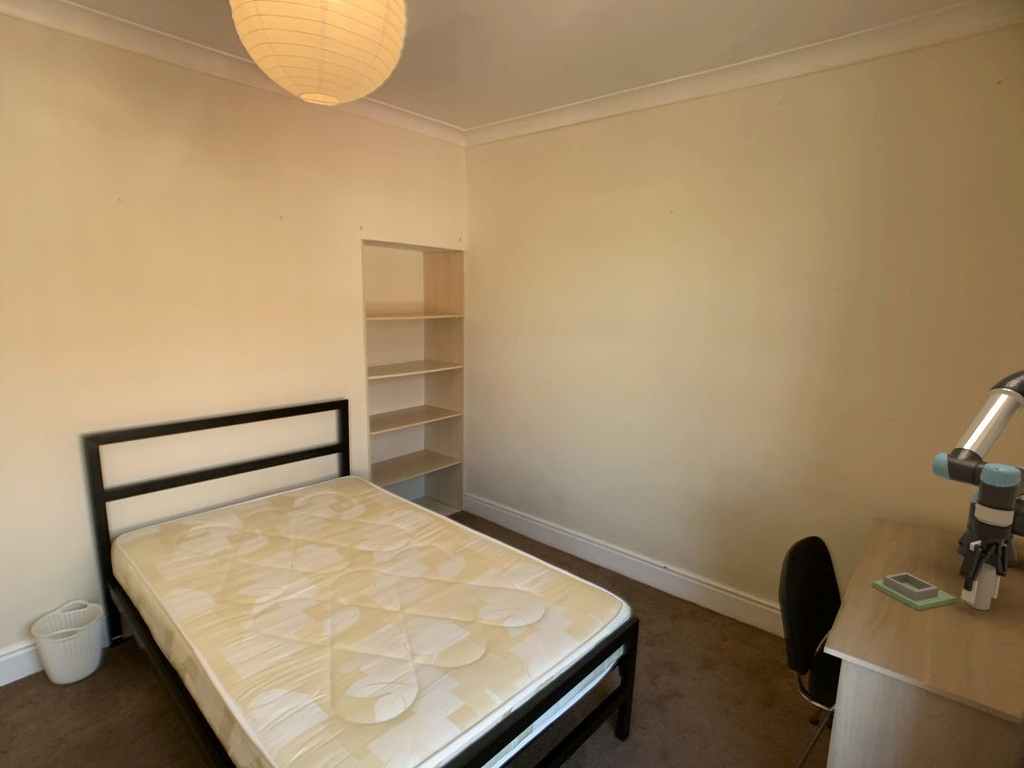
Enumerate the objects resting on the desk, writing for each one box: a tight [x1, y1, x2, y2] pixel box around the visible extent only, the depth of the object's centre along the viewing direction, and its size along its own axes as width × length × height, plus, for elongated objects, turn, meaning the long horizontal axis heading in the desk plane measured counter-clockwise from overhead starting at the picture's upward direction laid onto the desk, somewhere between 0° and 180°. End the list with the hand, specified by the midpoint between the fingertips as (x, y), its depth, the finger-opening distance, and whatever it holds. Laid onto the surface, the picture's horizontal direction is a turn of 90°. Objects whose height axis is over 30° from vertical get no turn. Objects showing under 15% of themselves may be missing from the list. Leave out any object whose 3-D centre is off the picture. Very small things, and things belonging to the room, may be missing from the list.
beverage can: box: [966, 563, 996, 611], centre depth 142 cm, size 5×5×12 cm
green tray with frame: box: [871, 571, 957, 611], centre depth 148 cm, size 15×13×4 cm
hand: (978, 598), depth 142 cm, fingers open, 9 cm apart
